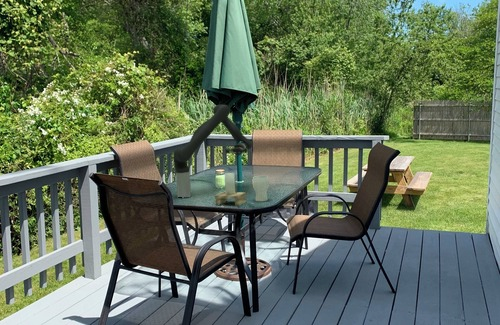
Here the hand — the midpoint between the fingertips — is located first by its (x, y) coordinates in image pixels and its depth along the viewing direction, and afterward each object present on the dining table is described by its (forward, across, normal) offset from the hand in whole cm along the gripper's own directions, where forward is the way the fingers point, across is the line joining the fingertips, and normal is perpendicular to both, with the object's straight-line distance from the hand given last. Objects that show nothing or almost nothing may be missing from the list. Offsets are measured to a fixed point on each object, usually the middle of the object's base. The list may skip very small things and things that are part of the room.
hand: (234, 151), depth 334 cm
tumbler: (+21, +1, +24) cm, 32 cm away
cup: (+12, +19, +30) cm, 38 cm away
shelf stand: (+21, +1, +30) cm, 37 cm away
